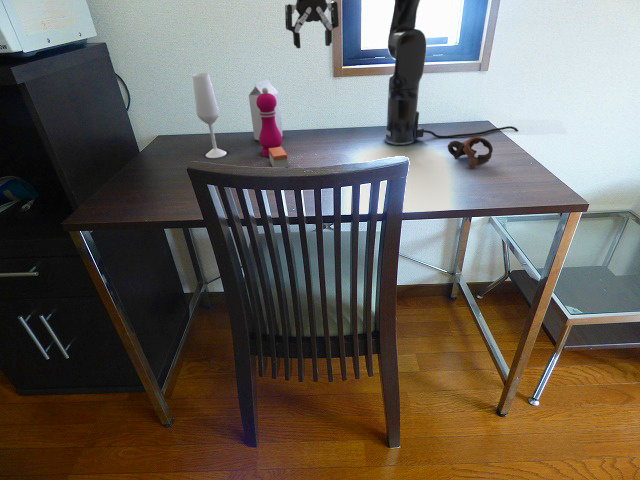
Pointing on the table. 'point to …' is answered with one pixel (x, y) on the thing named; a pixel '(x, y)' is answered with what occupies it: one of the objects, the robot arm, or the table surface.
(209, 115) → the champagne flute
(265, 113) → the pepper mill
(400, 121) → the robot arm
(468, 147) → the brown looped ring
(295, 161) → the table surface
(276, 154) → the sushi
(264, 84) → the milk carton
